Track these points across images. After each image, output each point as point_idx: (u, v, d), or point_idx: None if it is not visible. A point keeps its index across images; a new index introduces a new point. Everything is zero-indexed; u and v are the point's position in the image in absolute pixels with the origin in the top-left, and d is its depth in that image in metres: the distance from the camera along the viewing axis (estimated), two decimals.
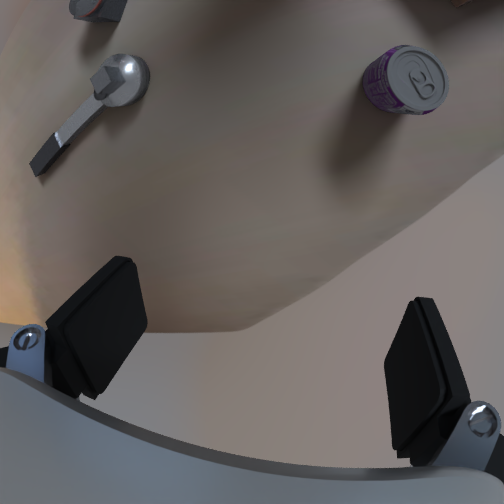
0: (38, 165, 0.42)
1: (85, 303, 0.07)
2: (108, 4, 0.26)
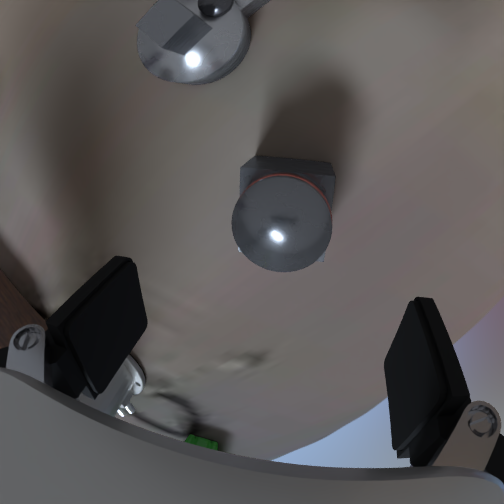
0: None
1: (85, 303, 0.07)
2: None
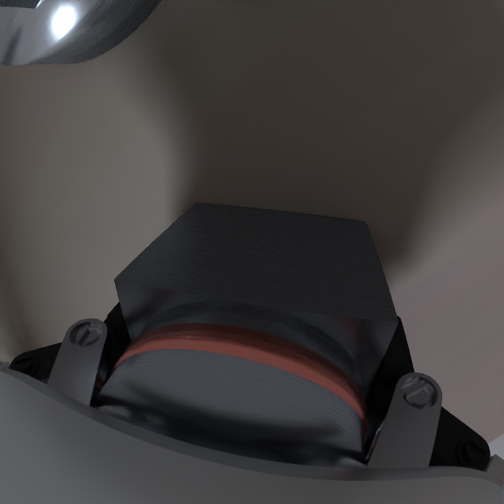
0: None
1: None
2: None
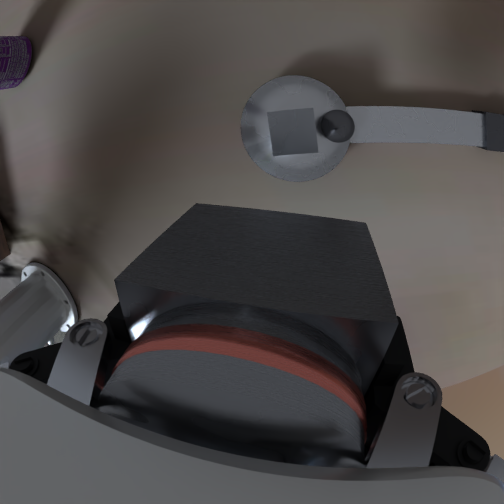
0: None
1: None
2: None
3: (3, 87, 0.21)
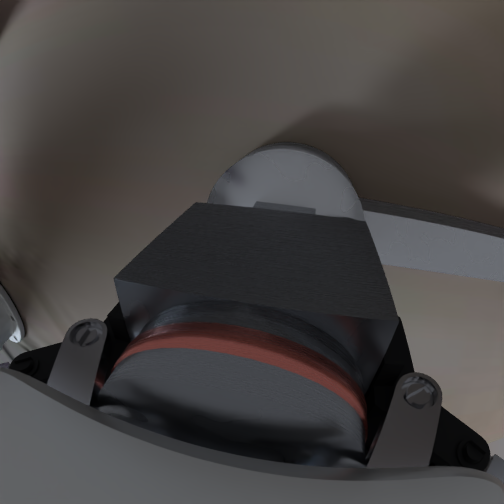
0: None
1: None
2: None
3: None
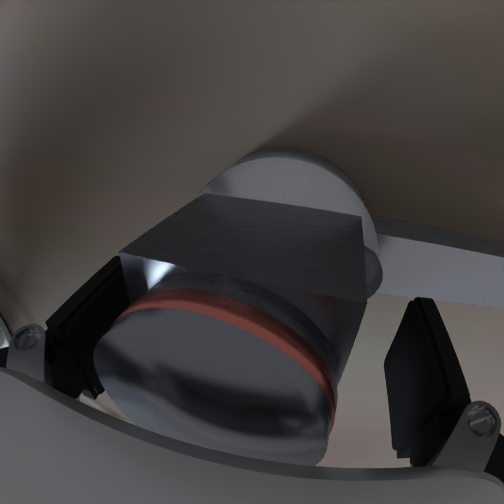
0: None
1: (85, 303, 0.07)
2: None
3: None
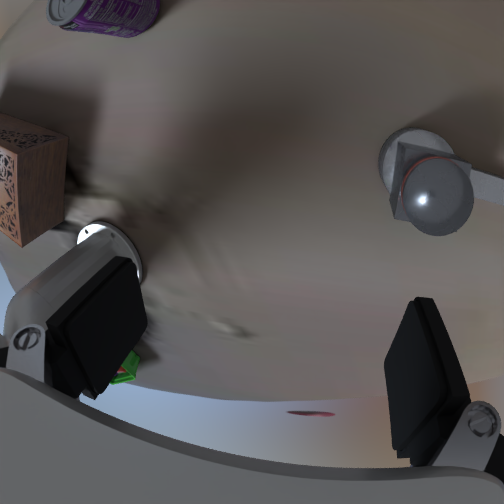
0: None
1: (85, 303, 0.07)
2: (400, 172, 0.21)
3: (119, 34, 0.23)
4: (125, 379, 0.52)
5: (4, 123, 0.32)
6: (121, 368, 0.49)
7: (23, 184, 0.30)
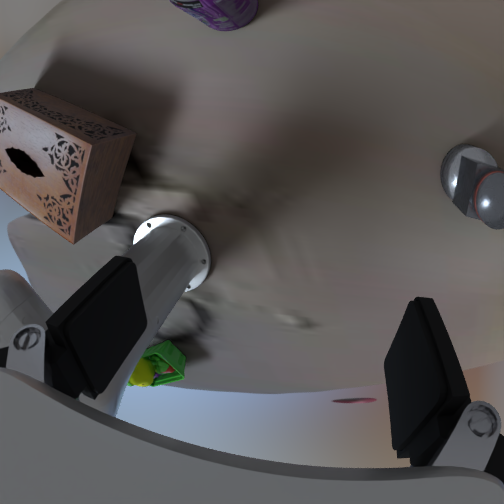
0: None
1: (85, 303, 0.07)
2: (470, 181, 0.24)
3: (220, 26, 0.25)
4: (170, 379, 0.53)
5: (53, 104, 0.33)
6: (169, 368, 0.50)
7: (89, 178, 0.31)
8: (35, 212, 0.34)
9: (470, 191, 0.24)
